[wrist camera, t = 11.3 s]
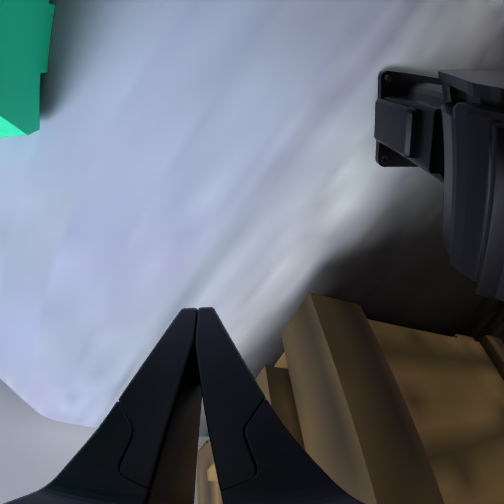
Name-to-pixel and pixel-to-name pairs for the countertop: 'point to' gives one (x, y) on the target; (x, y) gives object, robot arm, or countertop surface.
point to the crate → (386, 408)
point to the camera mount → (23, 62)
